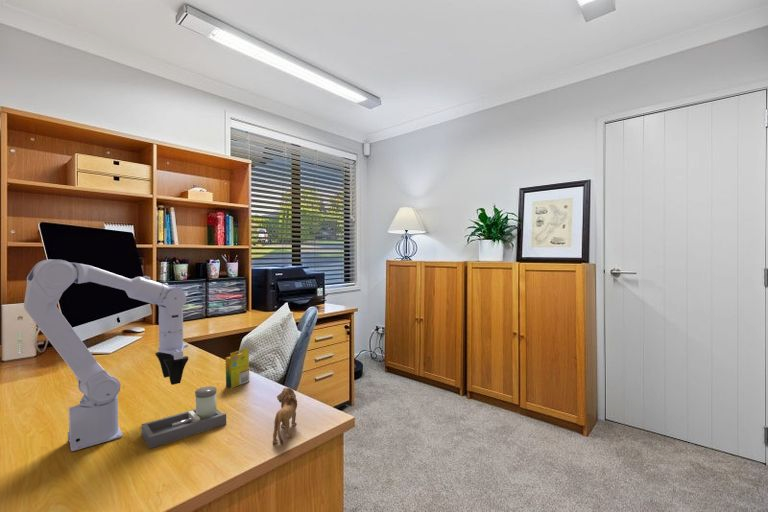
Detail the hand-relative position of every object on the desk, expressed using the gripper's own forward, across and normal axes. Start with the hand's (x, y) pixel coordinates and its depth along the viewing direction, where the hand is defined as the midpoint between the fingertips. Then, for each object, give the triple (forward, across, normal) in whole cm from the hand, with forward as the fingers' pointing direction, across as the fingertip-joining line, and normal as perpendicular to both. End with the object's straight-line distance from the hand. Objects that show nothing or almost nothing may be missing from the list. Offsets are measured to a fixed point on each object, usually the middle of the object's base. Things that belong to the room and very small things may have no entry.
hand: (171, 380), depth 100 cm
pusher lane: (+9, -12, 0) cm, 15 cm away
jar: (+9, -12, -5) cm, 16 cm away
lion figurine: (+10, -30, -18) cm, 36 cm away
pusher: (+8, -12, 0) cm, 15 cm away
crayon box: (+10, +10, -22) cm, 26 cm away
